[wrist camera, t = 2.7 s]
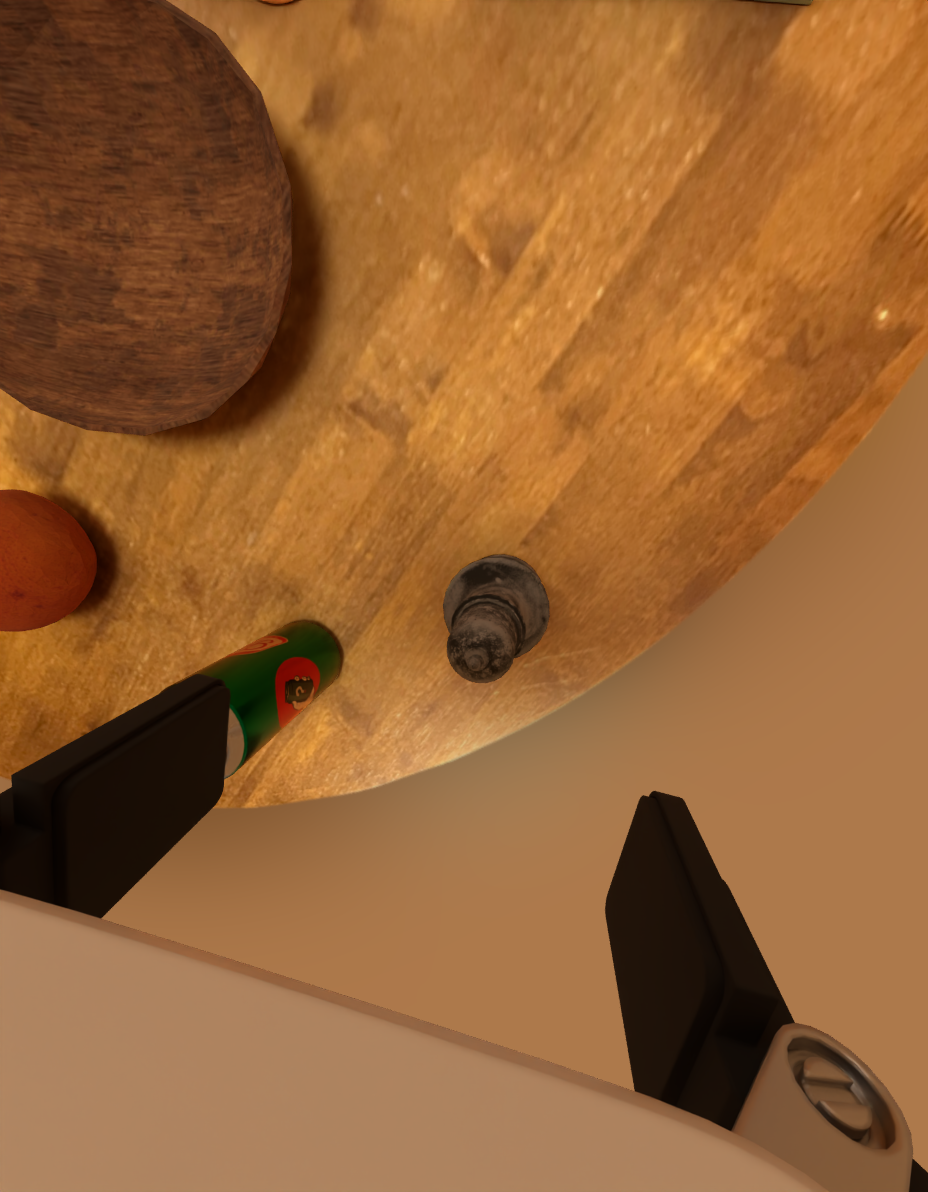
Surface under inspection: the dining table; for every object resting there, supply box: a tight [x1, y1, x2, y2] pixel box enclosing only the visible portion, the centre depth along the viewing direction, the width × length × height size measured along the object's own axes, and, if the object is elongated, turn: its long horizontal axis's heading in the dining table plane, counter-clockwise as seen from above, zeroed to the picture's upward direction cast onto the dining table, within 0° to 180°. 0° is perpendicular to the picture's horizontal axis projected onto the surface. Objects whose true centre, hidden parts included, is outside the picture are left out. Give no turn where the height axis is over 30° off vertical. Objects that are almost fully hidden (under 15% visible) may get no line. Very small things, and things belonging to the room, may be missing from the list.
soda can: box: [159, 621, 340, 779], centre depth 26 cm, size 5×5×12 cm
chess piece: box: [443, 554, 549, 683], centre depth 23 cm, size 6×6×12 cm
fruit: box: [0, 490, 97, 631], centre depth 30 cm, size 9×9×8 cm
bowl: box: [0, 0, 293, 435], centre depth 26 cm, size 20×22×5 cm
